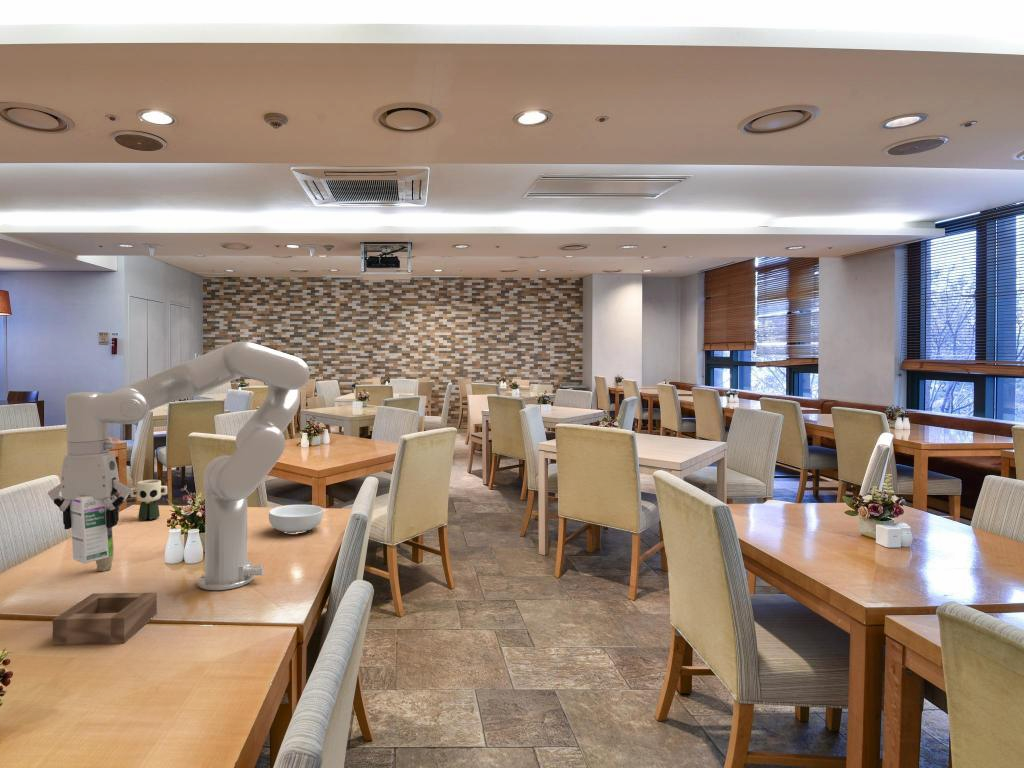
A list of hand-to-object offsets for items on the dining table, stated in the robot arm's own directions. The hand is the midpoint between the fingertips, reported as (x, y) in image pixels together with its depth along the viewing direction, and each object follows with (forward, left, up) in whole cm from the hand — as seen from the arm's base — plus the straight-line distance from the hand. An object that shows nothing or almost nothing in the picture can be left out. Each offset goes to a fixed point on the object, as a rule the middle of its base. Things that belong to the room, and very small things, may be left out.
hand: (91, 526), depth 131 cm
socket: (-9, +11, -18) cm, 23 cm away
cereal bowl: (-29, -60, -18) cm, 69 cm away
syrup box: (0, 0, -7) cm, 7 cm away
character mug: (+24, -76, -18) cm, 81 cm away
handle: (+11, -25, -18) cm, 33 cm away
